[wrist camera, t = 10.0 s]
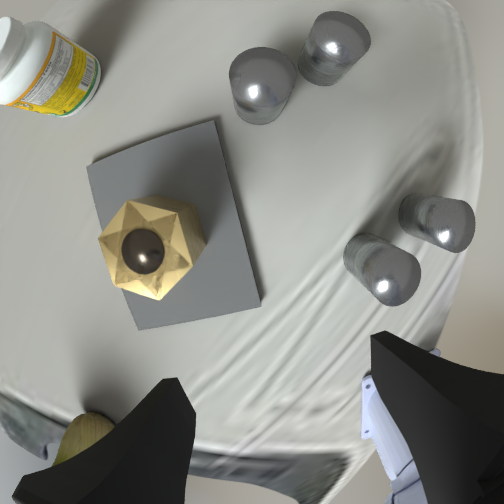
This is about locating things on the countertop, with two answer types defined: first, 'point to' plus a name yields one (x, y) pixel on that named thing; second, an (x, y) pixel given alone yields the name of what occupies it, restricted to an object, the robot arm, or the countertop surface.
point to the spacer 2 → (333, 47)
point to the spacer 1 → (261, 84)
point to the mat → (210, 215)
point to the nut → (152, 244)
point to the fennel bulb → (82, 435)
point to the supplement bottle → (44, 69)
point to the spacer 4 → (438, 221)
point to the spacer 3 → (382, 268)
